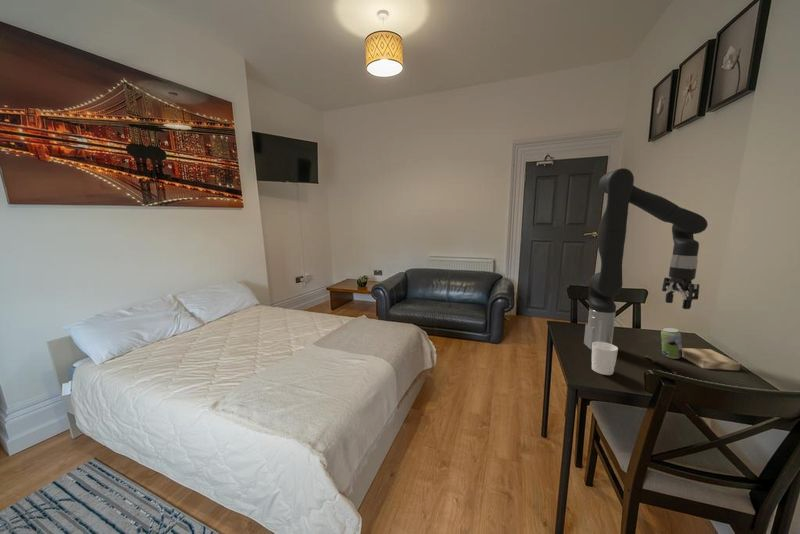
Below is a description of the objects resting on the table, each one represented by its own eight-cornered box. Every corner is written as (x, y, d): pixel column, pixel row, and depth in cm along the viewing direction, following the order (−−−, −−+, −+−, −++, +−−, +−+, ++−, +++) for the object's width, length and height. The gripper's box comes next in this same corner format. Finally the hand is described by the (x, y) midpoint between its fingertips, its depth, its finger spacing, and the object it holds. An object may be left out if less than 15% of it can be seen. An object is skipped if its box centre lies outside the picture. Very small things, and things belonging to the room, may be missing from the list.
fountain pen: (679, 376, 103) (680, 372, 103) (676, 376, 103) (677, 372, 103) (644, 357, 117) (644, 354, 117) (641, 357, 117) (642, 354, 117)
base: (702, 368, 108) (704, 360, 107) (677, 354, 119) (678, 347, 119) (739, 370, 106) (740, 363, 106) (709, 355, 118) (710, 349, 117)
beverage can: (685, 360, 114) (690, 332, 112) (664, 359, 115) (668, 331, 113) (674, 353, 120) (678, 327, 118) (654, 352, 121) (658, 326, 119)
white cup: (595, 363, 112) (597, 339, 110) (618, 372, 105) (621, 347, 104) (585, 369, 108) (588, 344, 106) (609, 378, 101) (612, 352, 100)
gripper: (658, 263, 119) (653, 300, 121) (687, 269, 105) (681, 310, 107) (678, 263, 118) (673, 301, 120) (710, 269, 104) (703, 311, 106)
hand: (677, 305), depth 114 cm, fingers open, 8 cm apart
